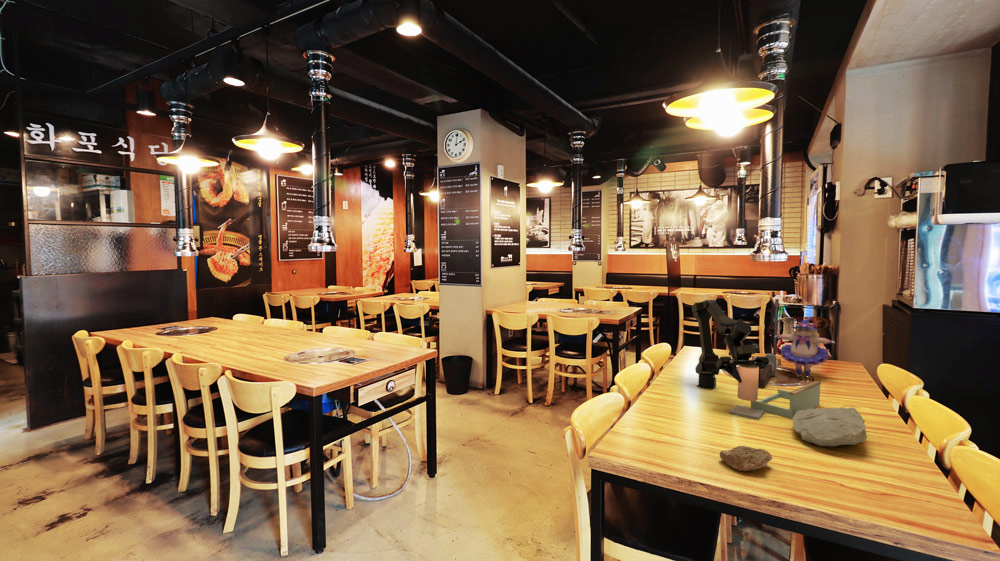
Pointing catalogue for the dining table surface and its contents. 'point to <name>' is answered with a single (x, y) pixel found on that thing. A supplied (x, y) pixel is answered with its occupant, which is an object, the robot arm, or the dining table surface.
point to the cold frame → (792, 400)
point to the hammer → (768, 370)
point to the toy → (804, 347)
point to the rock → (746, 458)
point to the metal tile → (747, 412)
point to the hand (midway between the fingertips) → (750, 382)
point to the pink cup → (748, 382)
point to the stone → (830, 426)
